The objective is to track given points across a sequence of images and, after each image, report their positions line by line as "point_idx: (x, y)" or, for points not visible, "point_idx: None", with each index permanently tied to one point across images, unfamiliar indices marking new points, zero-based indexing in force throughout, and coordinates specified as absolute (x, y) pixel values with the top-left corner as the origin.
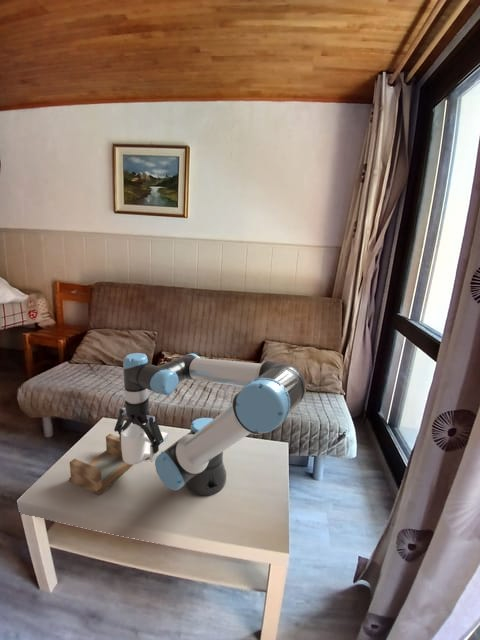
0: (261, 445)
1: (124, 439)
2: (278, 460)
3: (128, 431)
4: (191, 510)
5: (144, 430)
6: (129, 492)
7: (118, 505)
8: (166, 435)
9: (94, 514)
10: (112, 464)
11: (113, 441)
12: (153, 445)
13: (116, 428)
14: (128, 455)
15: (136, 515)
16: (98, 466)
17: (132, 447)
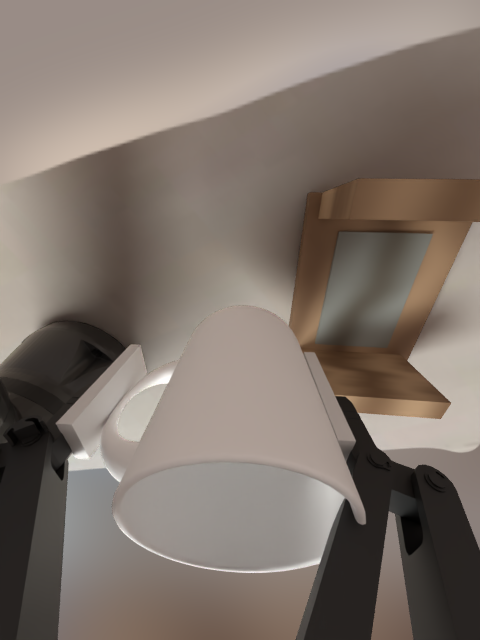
0: (74, 467)
1: (250, 422)
2: None
3: (317, 481)
4: (33, 272)
5: (9, 612)
6: (223, 251)
7: (216, 188)
8: None
9: (265, 103)
10: (346, 318)
11: (398, 391)
12: (7, 431)
13: (439, 507)
14: (227, 328)
15: (135, 181)
16: (391, 292)
17: (188, 373)
